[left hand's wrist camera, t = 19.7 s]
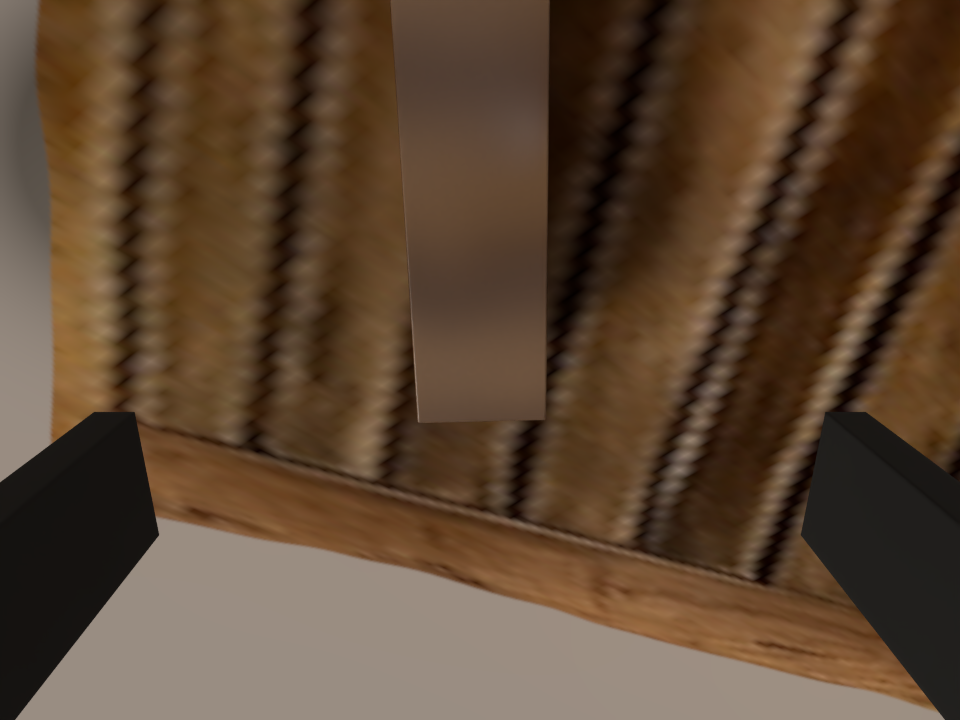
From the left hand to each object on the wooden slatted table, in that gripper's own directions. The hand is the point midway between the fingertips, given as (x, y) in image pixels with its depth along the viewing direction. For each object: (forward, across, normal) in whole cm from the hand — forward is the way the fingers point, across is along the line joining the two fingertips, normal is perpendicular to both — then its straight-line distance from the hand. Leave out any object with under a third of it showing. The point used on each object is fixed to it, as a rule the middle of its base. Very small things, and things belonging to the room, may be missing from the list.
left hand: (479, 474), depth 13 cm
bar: (+24, 0, -8) cm, 25 cm away
